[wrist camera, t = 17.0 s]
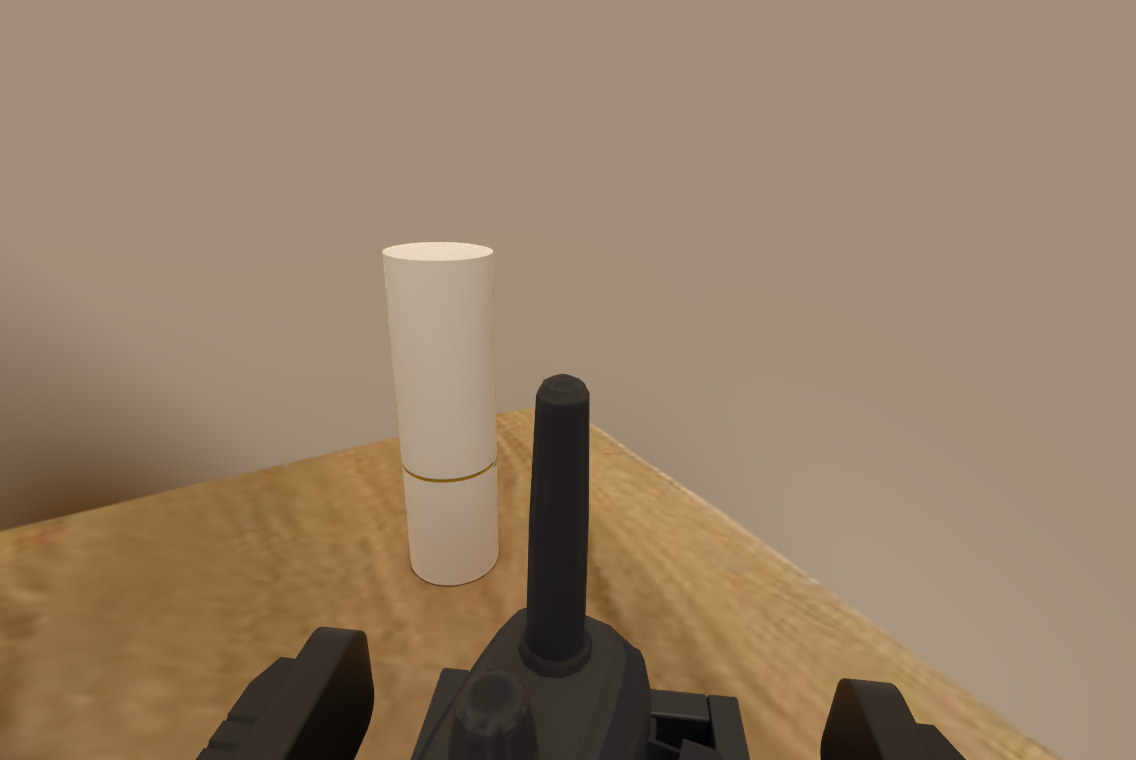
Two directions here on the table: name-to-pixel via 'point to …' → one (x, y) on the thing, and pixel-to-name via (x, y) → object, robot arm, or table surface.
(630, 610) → the table surface
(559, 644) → the two-way radio
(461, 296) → the tube
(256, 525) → the table surface
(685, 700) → the open box
